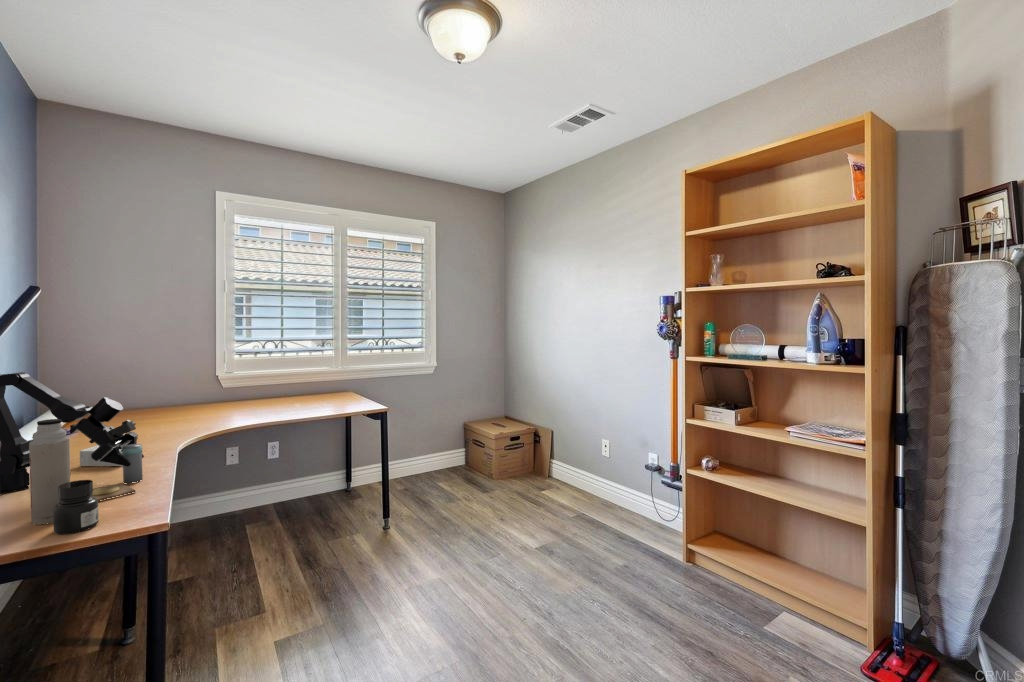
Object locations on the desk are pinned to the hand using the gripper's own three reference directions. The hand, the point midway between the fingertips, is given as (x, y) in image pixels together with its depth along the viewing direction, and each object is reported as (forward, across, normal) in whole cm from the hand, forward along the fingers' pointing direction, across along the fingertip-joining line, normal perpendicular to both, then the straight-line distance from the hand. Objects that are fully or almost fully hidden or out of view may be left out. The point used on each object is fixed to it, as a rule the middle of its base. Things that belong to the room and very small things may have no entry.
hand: (136, 461), depth 163 cm
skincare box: (-17, +28, +22) cm, 39 cm away
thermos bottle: (0, -31, +10) cm, 32 cm away
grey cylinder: (+4, 0, +6) cm, 7 cm away
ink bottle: (+7, -39, +3) cm, 40 cm away
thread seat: (+2, -13, +7) cm, 15 cm away
